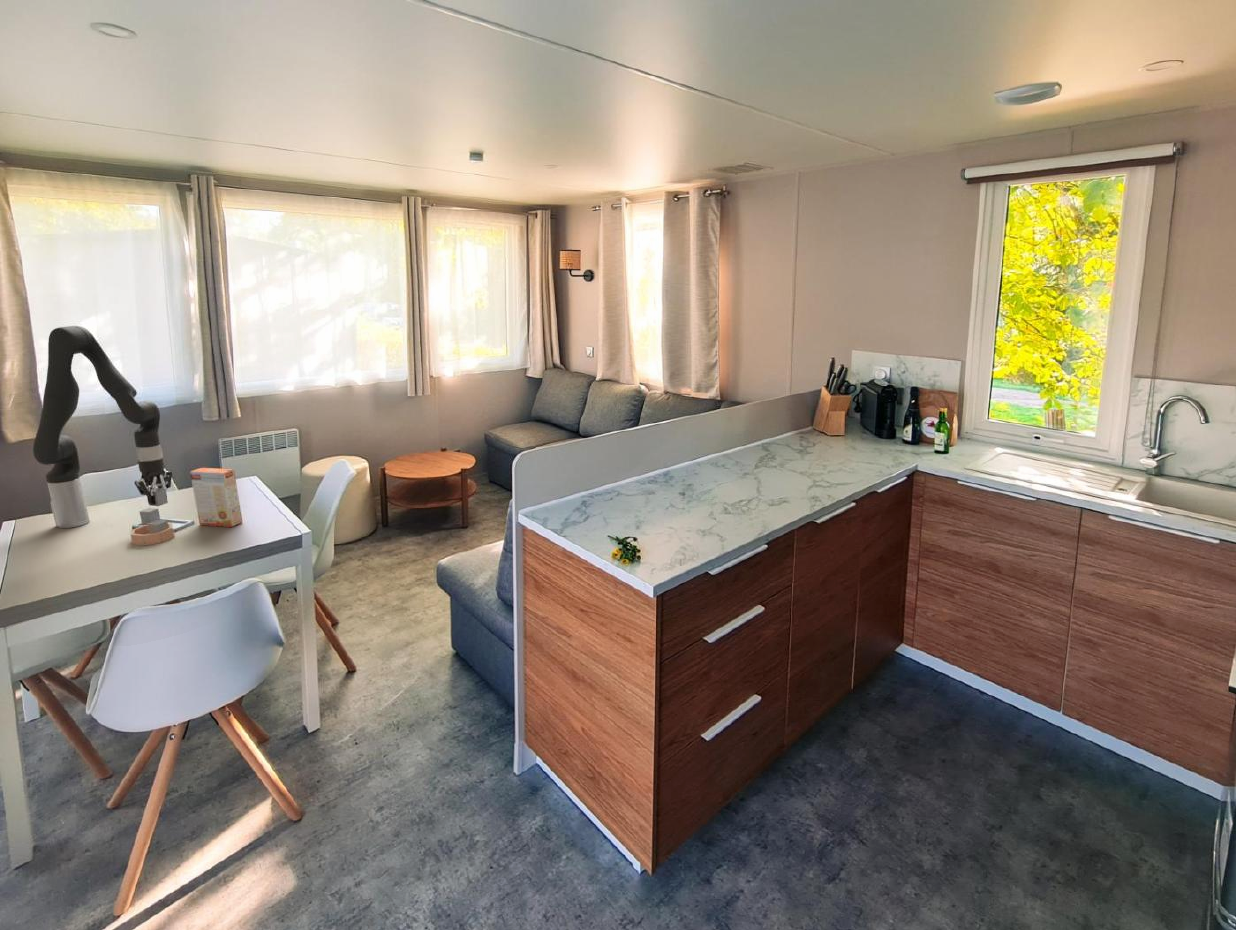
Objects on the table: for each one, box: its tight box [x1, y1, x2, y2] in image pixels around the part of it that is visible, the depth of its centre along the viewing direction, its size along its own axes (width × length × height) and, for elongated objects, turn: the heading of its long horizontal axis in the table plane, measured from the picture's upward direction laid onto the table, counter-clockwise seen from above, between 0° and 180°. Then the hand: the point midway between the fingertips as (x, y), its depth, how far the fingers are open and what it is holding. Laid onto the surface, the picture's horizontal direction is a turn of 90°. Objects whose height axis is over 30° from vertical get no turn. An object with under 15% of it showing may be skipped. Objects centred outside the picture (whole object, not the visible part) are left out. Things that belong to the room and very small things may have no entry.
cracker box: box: [189, 467, 243, 528], centre depth 241 cm, size 14×6×21 cm, turn 78°
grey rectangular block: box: [148, 520, 168, 534], centre depth 228 cm, size 4×4×6 cm
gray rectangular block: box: [148, 487, 169, 507], centre depth 238 cm, size 4×4×6 cm
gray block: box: [139, 507, 161, 526], centre depth 241 cm, size 4×4×6 cm
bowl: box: [130, 523, 175, 546], centre depth 229 cm, size 12×12×4 cm
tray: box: [131, 517, 195, 533], centre depth 241 cm, size 18×9×1 cm, turn 78°
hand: (158, 502), depth 239 cm, fingers closed on gray rectangular block, 4 cm apart
